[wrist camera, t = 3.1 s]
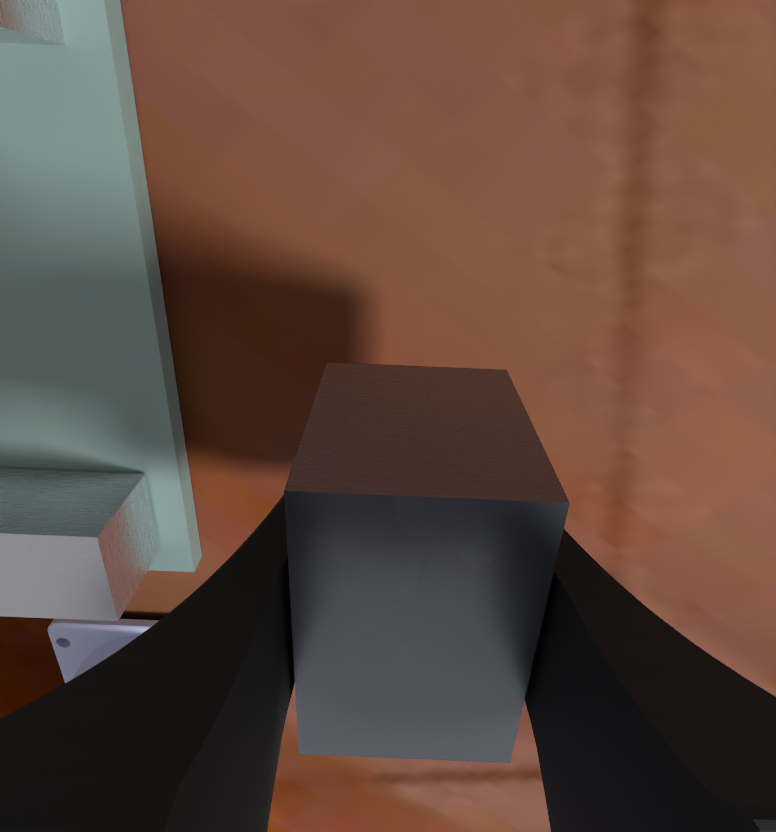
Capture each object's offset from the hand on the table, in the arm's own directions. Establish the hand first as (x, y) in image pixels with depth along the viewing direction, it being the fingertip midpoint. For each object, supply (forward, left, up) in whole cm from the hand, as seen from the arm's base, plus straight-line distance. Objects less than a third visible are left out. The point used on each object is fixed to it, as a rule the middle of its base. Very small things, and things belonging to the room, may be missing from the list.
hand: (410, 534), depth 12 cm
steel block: (0, 0, -2) cm, 2 cm away
